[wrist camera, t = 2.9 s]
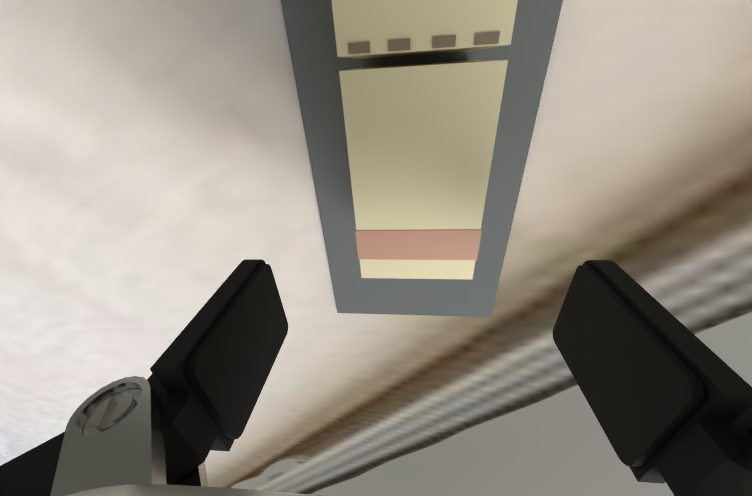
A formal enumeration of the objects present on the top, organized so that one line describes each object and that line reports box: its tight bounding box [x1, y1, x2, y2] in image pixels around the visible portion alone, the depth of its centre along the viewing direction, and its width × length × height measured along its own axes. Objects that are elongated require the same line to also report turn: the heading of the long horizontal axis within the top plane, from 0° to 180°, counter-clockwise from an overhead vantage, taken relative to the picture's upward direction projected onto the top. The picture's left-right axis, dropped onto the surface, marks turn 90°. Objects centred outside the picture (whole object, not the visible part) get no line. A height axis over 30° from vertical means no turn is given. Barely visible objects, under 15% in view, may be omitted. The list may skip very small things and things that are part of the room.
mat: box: [281, 0, 563, 317], centre depth 16 cm, size 33×13×1 cm, turn 3°
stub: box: [339, 60, 508, 280], centre depth 14 cm, size 9×6×6 cm, turn 3°
